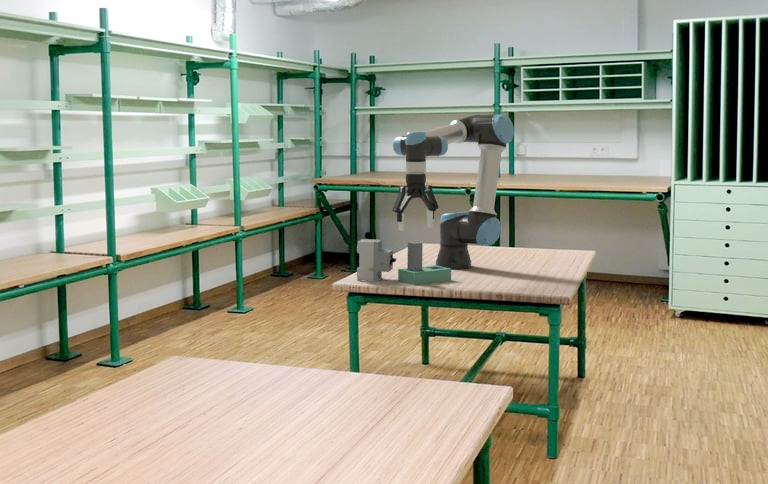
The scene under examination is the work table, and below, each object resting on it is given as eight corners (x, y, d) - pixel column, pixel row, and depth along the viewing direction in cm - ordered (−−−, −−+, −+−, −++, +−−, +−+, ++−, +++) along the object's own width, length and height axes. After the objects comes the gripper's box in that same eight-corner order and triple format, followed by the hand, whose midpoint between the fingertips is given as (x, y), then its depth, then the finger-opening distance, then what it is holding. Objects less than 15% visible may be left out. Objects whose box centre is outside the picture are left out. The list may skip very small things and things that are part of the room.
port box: (434, 276, 340) (434, 265, 339) (451, 280, 331) (451, 268, 331) (397, 280, 329) (397, 269, 329) (414, 284, 321) (414, 272, 320)
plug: (415, 280, 330) (416, 241, 328) (422, 282, 327) (422, 242, 325) (407, 281, 328) (407, 242, 326) (413, 283, 324) (414, 243, 322)
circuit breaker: (393, 281, 327) (393, 242, 325) (356, 280, 329) (357, 241, 328) (397, 278, 334) (397, 240, 332) (361, 277, 337) (361, 239, 335)
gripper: (435, 171, 332) (435, 225, 335) (382, 173, 318) (383, 230, 321) (447, 172, 326) (447, 227, 329) (394, 174, 312) (395, 232, 315)
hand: (415, 229), depth 325 cm, fingers open, 13 cm apart
